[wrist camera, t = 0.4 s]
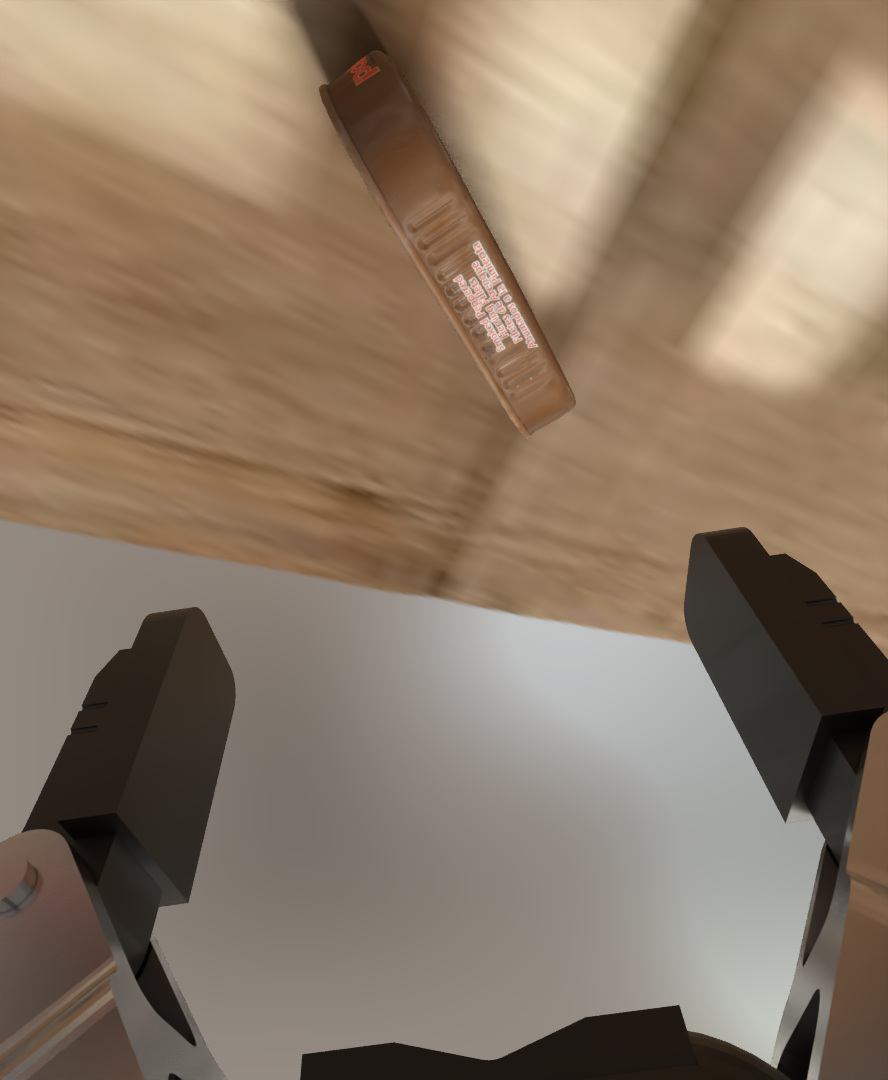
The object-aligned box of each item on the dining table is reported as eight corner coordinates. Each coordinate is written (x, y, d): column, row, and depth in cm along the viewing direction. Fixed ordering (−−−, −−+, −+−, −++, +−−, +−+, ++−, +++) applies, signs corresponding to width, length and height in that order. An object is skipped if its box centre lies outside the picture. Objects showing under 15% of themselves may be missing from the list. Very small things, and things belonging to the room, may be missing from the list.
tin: (317, 71, 24) (301, 126, 18) (389, 14, 23) (397, 53, 17) (501, 377, 33) (531, 481, 27) (557, 346, 33) (601, 446, 26)
